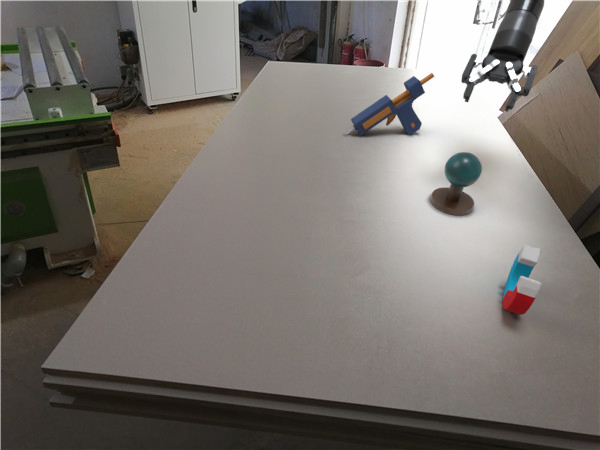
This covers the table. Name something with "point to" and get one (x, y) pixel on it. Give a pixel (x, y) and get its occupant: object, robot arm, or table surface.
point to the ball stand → (457, 184)
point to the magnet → (521, 282)
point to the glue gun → (393, 109)
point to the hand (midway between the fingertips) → (486, 105)
